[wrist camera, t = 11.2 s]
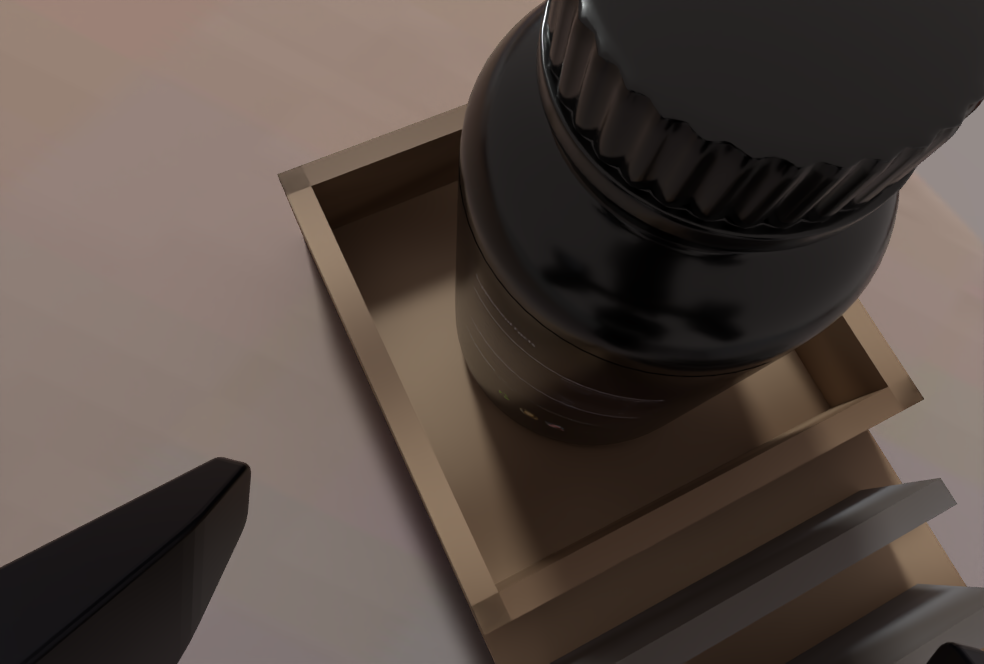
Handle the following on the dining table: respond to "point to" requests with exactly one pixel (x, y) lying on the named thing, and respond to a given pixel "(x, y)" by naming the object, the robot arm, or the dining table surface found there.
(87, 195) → the dining table surface
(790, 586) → the wooden desk organizer
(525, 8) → the dining table surface
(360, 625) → the dining table surface
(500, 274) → the supplement bottle
